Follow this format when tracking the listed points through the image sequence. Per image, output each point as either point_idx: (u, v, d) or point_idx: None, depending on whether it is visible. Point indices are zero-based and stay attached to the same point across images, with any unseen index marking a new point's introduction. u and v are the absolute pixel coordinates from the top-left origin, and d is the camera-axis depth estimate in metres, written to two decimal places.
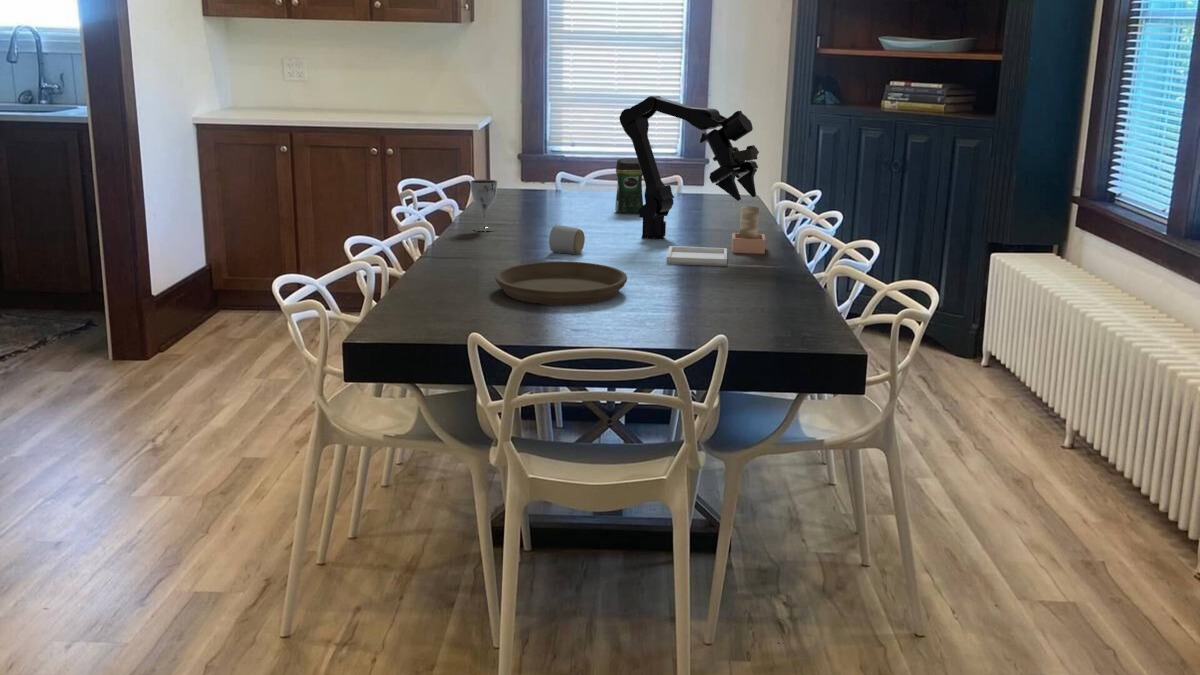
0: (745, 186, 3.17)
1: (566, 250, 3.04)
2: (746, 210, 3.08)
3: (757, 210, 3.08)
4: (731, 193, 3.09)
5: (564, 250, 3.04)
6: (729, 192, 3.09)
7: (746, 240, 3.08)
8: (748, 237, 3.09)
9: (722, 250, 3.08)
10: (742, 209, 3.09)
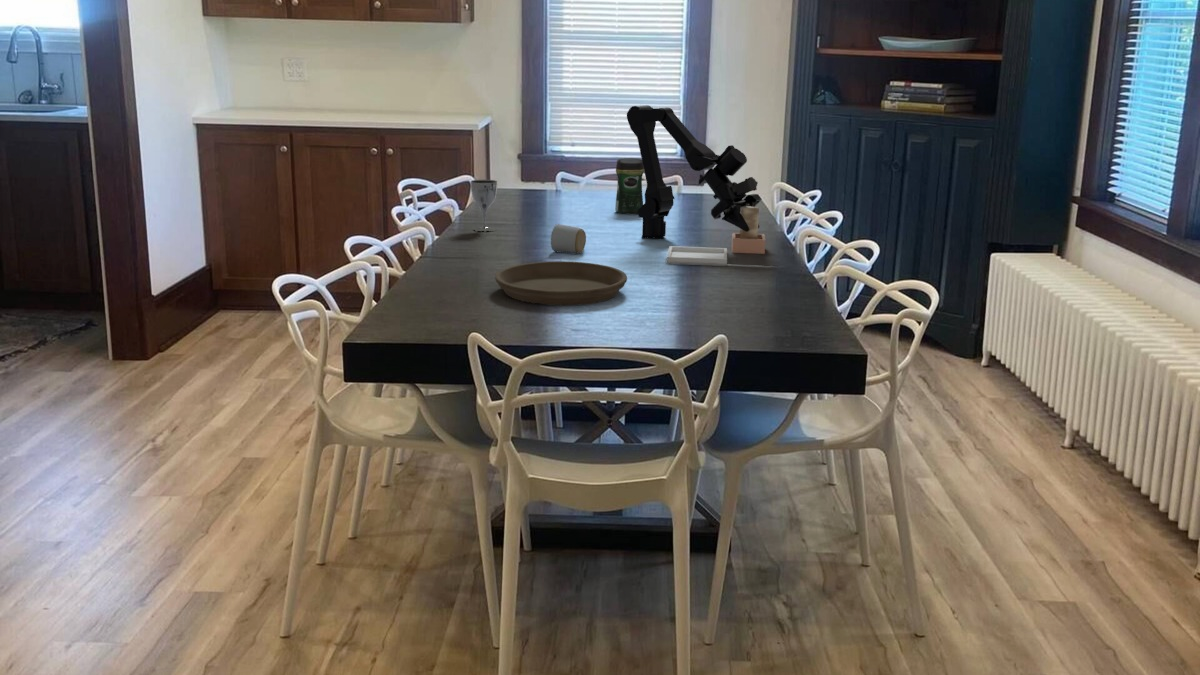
0: None
1: (567, 249, 3.05)
2: (746, 210, 3.08)
3: (757, 210, 3.08)
4: (739, 225, 3.09)
5: (565, 249, 3.05)
6: (737, 225, 3.09)
7: (746, 240, 3.08)
8: (748, 237, 3.09)
9: (722, 250, 3.08)
10: (742, 209, 3.09)
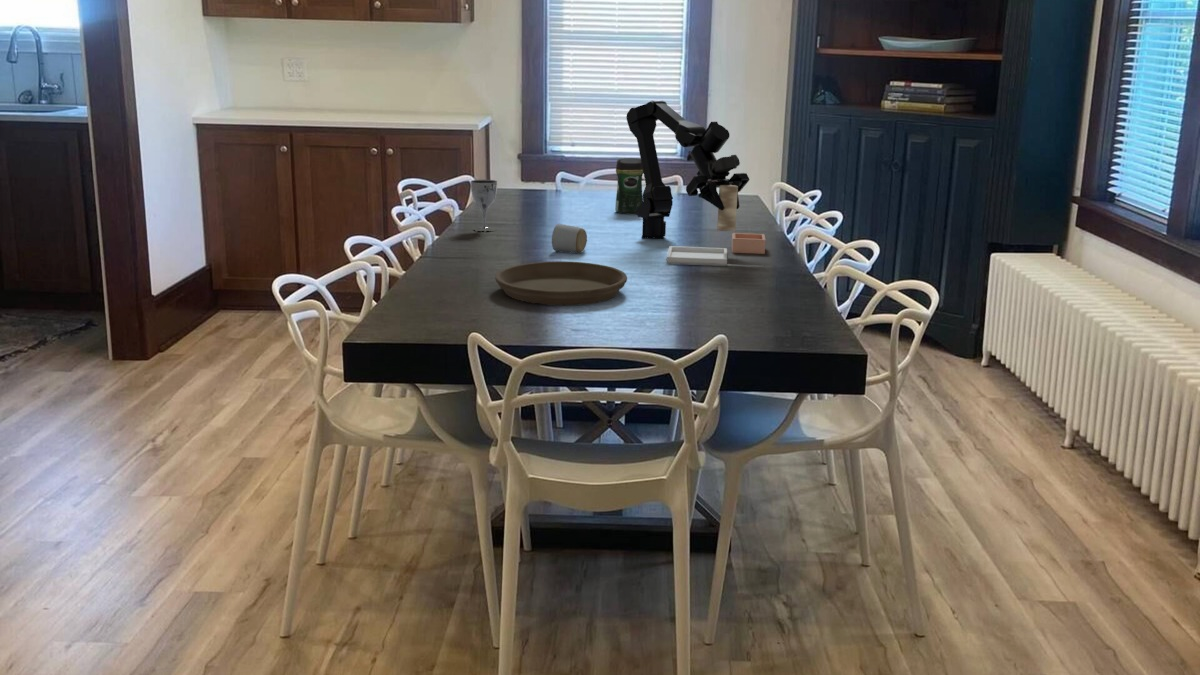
0: None
1: (568, 249, 3.06)
2: (722, 188, 3.00)
3: (734, 189, 2.99)
4: (714, 203, 3.01)
5: (566, 249, 3.06)
6: (713, 203, 3.02)
7: (746, 240, 3.08)
8: (724, 216, 3.01)
9: (722, 250, 3.08)
10: (719, 187, 3.01)
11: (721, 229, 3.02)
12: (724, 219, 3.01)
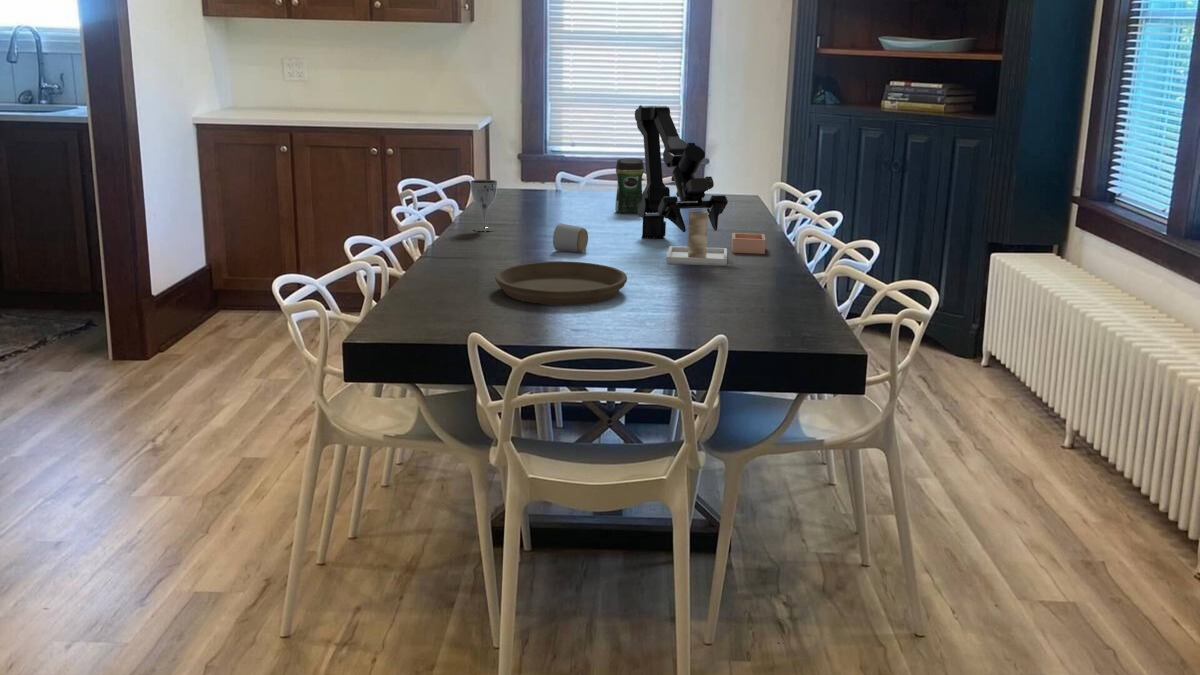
0: (711, 221, 3.03)
1: (570, 248, 3.06)
2: (690, 214, 2.98)
3: (701, 215, 2.97)
4: (678, 225, 2.99)
5: (568, 248, 3.07)
6: (676, 224, 2.99)
7: (746, 240, 3.08)
8: (692, 243, 2.99)
9: (722, 250, 3.08)
10: (689, 213, 3.00)
11: (690, 256, 3.00)
12: (692, 245, 2.99)
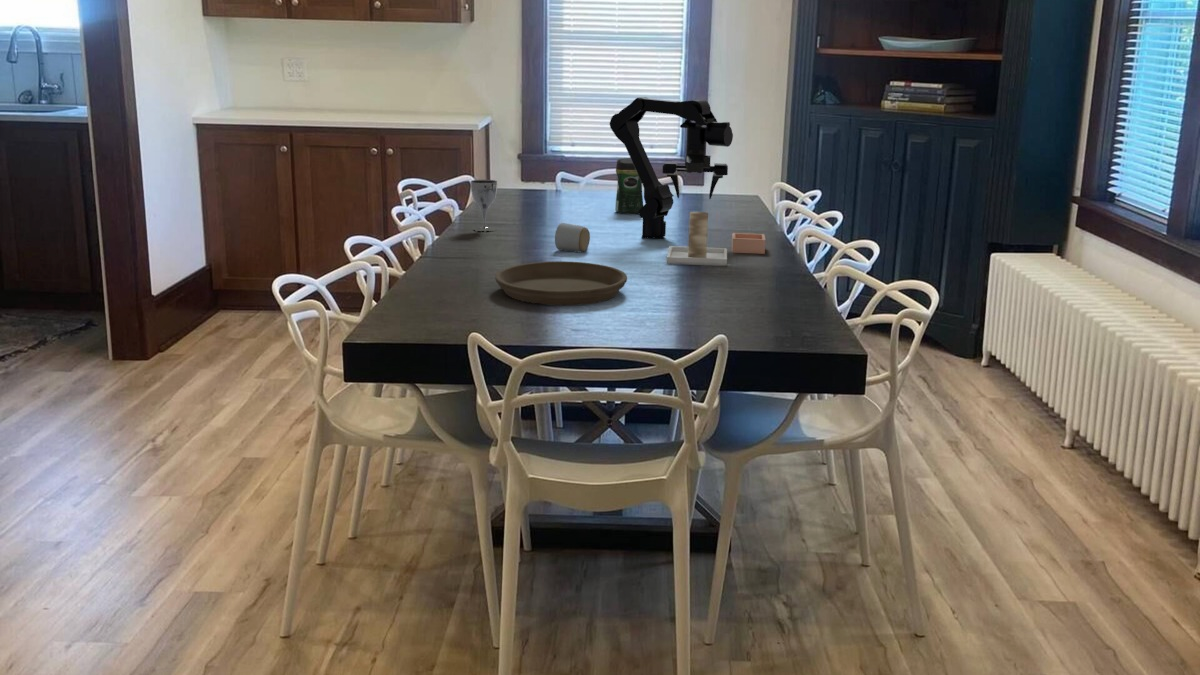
0: None
1: (571, 248, 3.07)
2: (690, 215, 2.98)
3: (702, 216, 2.97)
4: None
5: (569, 248, 3.08)
6: None
7: (746, 240, 3.08)
8: (692, 243, 2.99)
9: (722, 250, 3.08)
10: None
11: (690, 256, 3.00)
12: (692, 246, 2.99)
